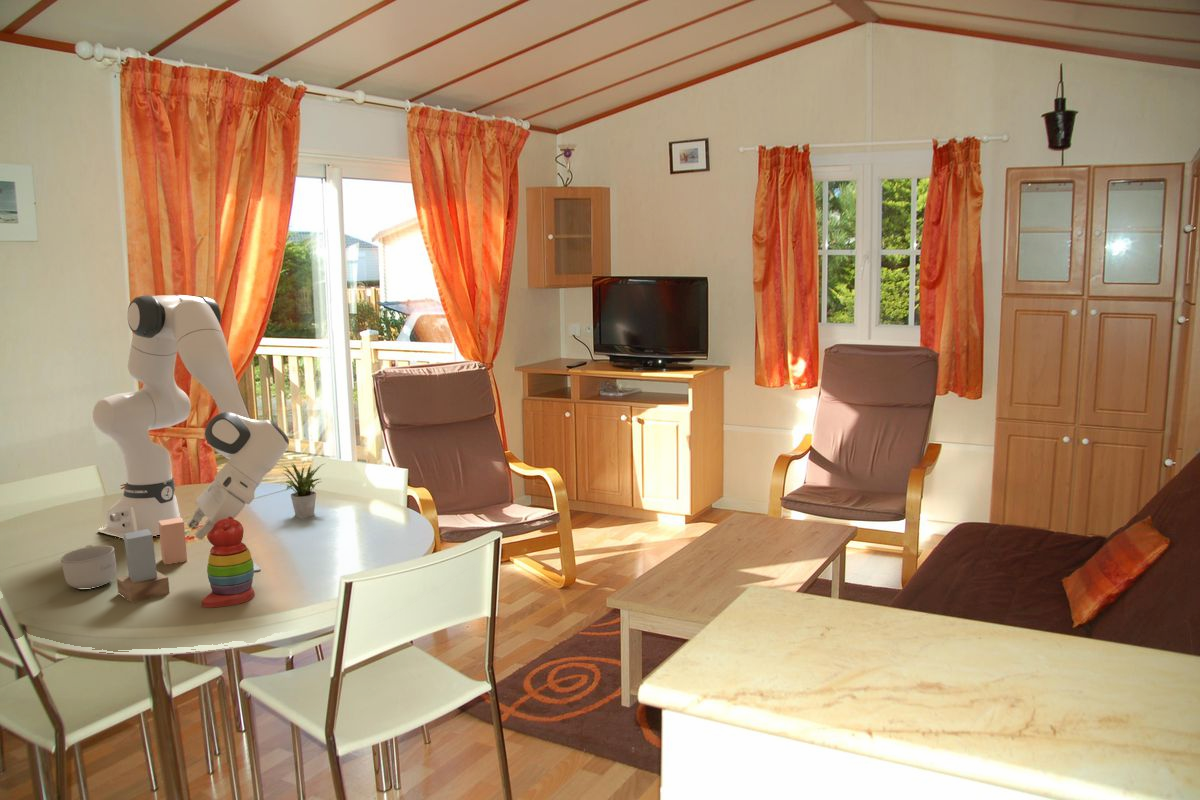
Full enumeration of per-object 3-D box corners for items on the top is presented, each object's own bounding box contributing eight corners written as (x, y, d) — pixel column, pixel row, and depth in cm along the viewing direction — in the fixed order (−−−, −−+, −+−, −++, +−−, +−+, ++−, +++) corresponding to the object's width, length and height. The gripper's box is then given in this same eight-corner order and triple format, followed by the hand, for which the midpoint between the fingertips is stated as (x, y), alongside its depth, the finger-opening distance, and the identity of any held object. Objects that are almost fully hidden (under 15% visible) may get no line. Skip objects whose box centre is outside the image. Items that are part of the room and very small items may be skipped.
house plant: (265, 521, 263) (261, 465, 261) (287, 508, 277) (283, 454, 274) (313, 522, 261) (309, 465, 259) (333, 509, 275) (329, 455, 273)
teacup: (112, 590, 209) (108, 556, 208) (58, 596, 206) (54, 561, 205) (124, 571, 222) (121, 539, 221) (74, 576, 219) (70, 543, 218)
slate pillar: (132, 583, 203) (127, 539, 201) (128, 576, 207) (123, 533, 205) (157, 577, 206) (152, 534, 204) (153, 571, 210) (148, 529, 208)
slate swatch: (234, 575, 217) (234, 574, 217) (228, 568, 222) (228, 567, 222) (260, 570, 220) (260, 569, 220) (254, 564, 225) (254, 562, 225)
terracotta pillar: (165, 565, 226) (161, 525, 225) (161, 559, 230) (158, 520, 229) (187, 561, 229) (183, 521, 227) (183, 556, 233) (180, 517, 231)
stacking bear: (215, 590, 208) (209, 513, 205) (261, 588, 208) (256, 511, 206) (198, 608, 197) (191, 527, 194) (247, 606, 198) (241, 525, 195)
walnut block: (131, 604, 201) (130, 586, 200) (118, 595, 207) (116, 578, 206) (169, 594, 207) (168, 577, 206) (155, 586, 212) (154, 569, 212)
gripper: (214, 467, 222) (174, 513, 218) (233, 484, 205) (190, 535, 201) (236, 482, 225) (197, 528, 221) (255, 500, 208) (213, 551, 204)
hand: (193, 532), depth 211 cm, fingers open, 8 cm apart
